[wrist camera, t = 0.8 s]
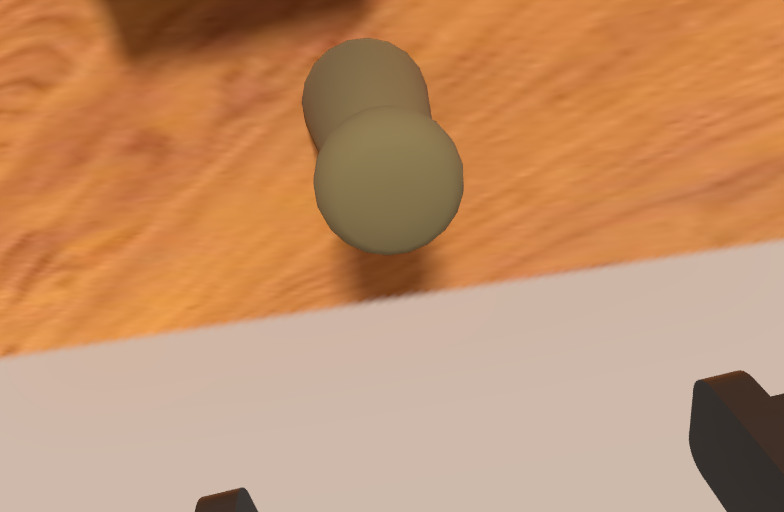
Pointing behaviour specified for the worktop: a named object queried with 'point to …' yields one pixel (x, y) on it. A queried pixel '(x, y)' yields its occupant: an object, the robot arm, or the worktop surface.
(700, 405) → the robot arm
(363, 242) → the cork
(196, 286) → the worktop surface
